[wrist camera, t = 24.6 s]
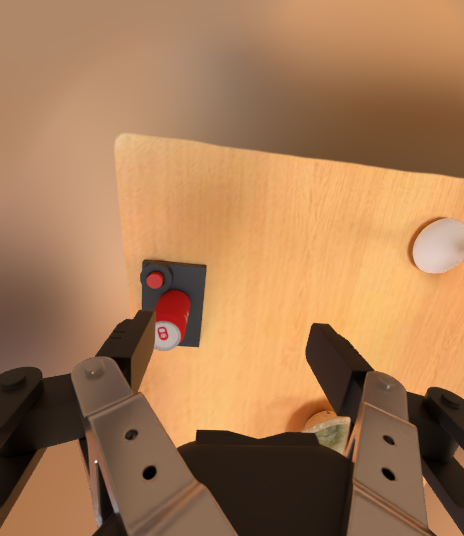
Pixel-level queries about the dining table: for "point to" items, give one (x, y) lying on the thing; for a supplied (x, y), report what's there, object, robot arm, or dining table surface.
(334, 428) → the bowl
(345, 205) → the dining table surface
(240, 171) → the dining table surface
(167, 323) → the beverage can
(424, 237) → the flower in vase
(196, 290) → the grey plate red button
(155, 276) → the button
